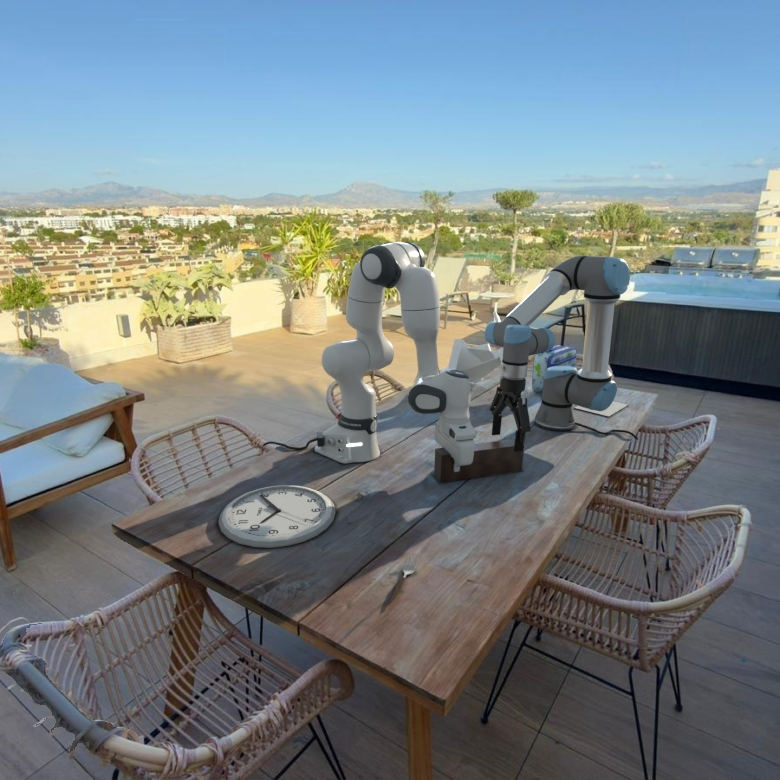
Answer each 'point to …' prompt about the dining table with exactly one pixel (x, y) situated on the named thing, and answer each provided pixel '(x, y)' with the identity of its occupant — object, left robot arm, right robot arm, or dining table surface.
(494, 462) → the walnut beam
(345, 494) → the dining table surface
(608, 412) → the invitation card
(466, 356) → the white plastic object
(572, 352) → the lunch box
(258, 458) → the dining table surface
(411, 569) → the fork
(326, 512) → the wall clock
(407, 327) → the left robot arm
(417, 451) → the dining table surface
